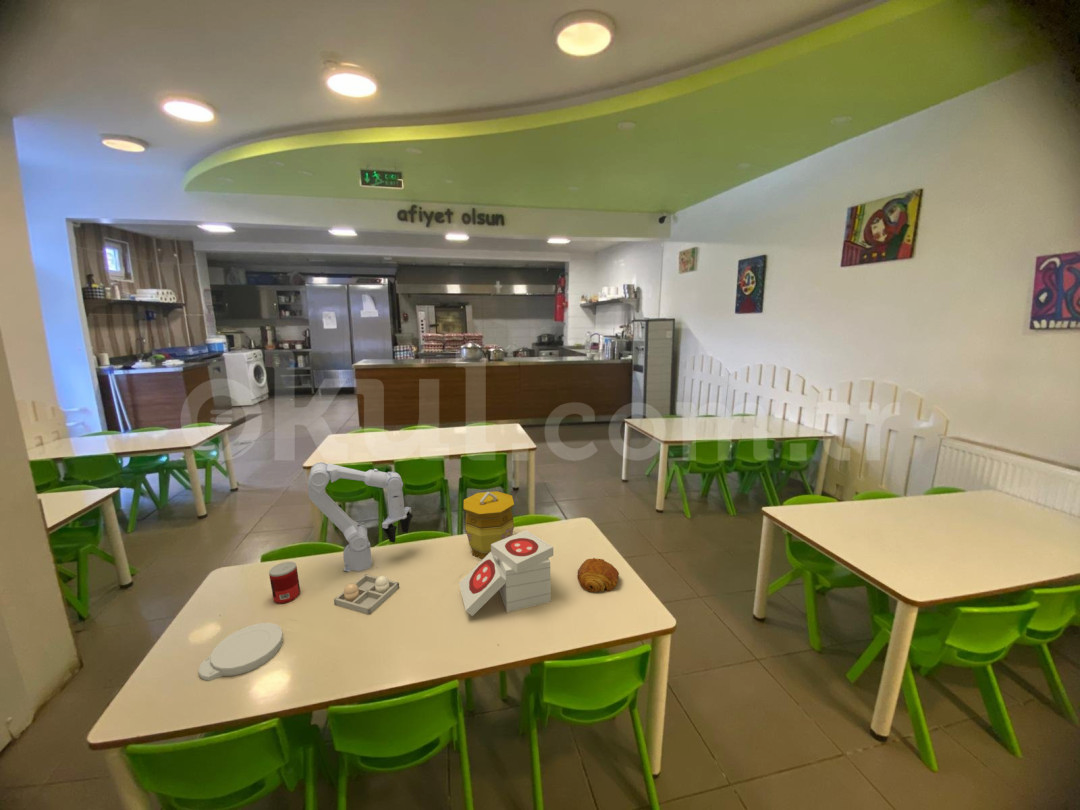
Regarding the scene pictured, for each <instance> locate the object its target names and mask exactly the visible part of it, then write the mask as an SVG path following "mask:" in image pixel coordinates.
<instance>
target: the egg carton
mask: <svg viewBox="0 0 1080 810" xmlns="http://www.w3.org/2000/svg"><path fill="white" fill-rule="evenodd" d="M378 577H379V576H374V575H369V574H364V575H363V576H362V577H360V578H359V579H358V580H356V581H355V582H353V583H354V584H356V585H357V586H358V590H359V597H358V598H356V599H355V600H354V601H353V602H349V601H346V600H345V597H344V591H342V592H341V593H340V594H338V595H337V596H336V597H335V598H333V603H334V606H337V607H341V608H343V609H344V608H345V609H349V610H352V611H355V612H358V613H361V614H362V613H363V614H366V615H372V613H373V612H374V611H376V610H377V608H379V607H380V606H381V605H382V604H384V603H385V602H386V600H388V599H389V598H390V597H391V596H392V595H393V594H394V593H396V592H397V590H399V589H400V582H397V581H394V580H391V579H388V580H389V588H390V589H388V590H387V591H386V592H385V593H384V594H382V593H378V592H376V589H375V581H376V579H377V578H378Z"/></svg>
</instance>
